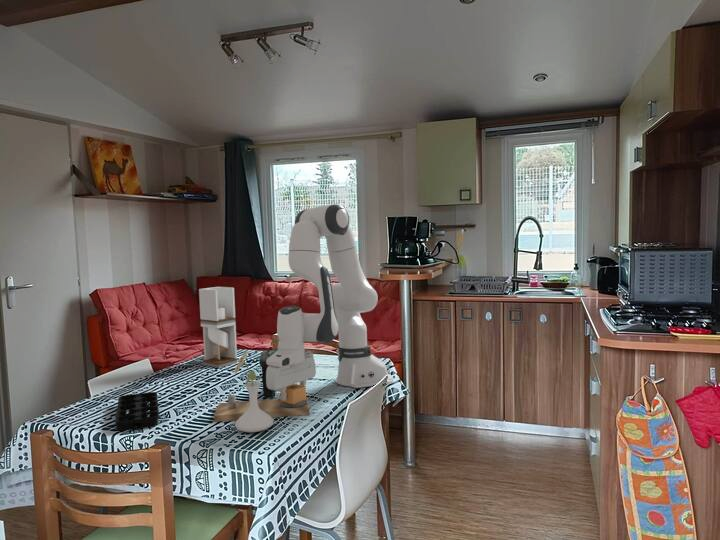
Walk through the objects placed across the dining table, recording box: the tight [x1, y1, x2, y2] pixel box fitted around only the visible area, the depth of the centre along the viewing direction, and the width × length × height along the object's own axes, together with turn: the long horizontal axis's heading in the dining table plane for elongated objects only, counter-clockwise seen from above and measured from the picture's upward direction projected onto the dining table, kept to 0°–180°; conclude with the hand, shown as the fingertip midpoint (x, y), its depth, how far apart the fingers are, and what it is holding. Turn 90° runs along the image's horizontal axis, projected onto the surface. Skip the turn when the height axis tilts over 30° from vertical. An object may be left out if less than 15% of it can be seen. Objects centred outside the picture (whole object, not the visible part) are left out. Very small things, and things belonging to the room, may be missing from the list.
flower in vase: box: [233, 349, 275, 433], centre depth 153 cm, size 13×11×25 cm
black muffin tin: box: [114, 391, 160, 432], centre depth 170 cm, size 18×30×4 cm, turn 35°
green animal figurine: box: [259, 339, 278, 399], centre depth 191 cm, size 20×6×20 cm, turn 163°
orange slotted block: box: [279, 383, 307, 404], centre depth 171 cm, size 6×6×4 cm
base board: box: [213, 388, 310, 422], centre depth 170 cm, size 30×12×7 cm, turn 98°
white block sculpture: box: [198, 286, 238, 369], centre depth 236 cm, size 11×11×35 cm
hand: (293, 396), depth 171 cm, fingers closed on orange slotted block, 6 cm apart
